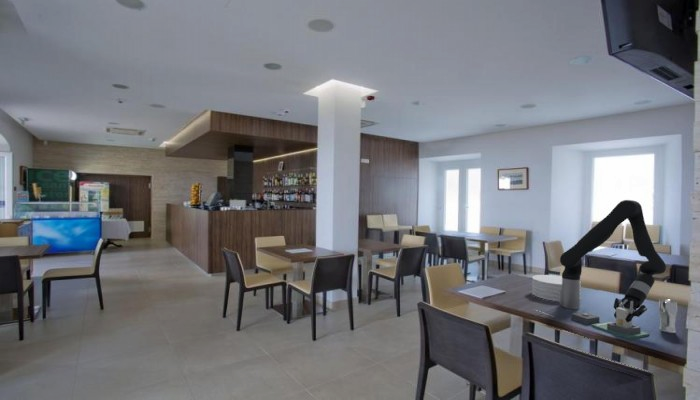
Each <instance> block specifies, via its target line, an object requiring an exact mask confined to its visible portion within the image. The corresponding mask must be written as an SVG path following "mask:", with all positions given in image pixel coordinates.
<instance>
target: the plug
mask: <svg viewBox="0 0 700 400" xmlns="http://www.w3.org/2000/svg"><path fill="white" fill-rule="evenodd" d="M615 312H616V318H615V322H616V326H619V327H622V328H625V329H627V328H632V325H633V319H632V320H631V321H629V322H627V321H626V320H625V319H626V317H627V316H628V314H630V309H628V308H624V306H623V307H619V308H616V310H615Z"/></svg>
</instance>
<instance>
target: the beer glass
mask: <svg viewBox="0 0 700 400" xmlns="http://www.w3.org/2000/svg"><path fill="white" fill-rule="evenodd" d="M658 300H659V301H658V314H659V320H660V325H659V327H658V328H659V330H660V331H661V332H663V333H669V334H676V332H677V331H676V325H675V324H676V320H677V316H678V302H677V301H676V300H673V299H668V298H659V299H658Z"/></svg>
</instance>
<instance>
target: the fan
mask: <svg viewBox="0 0 700 400" xmlns="http://www.w3.org/2000/svg"><path fill="white" fill-rule="evenodd" d="M570 319H571V320H573V321H576V322H578V323H580V324H584V325H588V326H589V325H591V324H597V323H600V316H598V315H595V314H592V313H589V312H585V311H579V312H573V313H570Z"/></svg>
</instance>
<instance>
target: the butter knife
mask: <svg viewBox="0 0 700 400" xmlns="http://www.w3.org/2000/svg"><path fill="white" fill-rule="evenodd" d="M535 310H536V312H538V309H535ZM538 313H541V310H539V312H538ZM542 314H544V315H547V316H550V317H554V318H555V316H554V315H551V314H549V313H547V312H545V311H544V312H543V311H542Z"/></svg>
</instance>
